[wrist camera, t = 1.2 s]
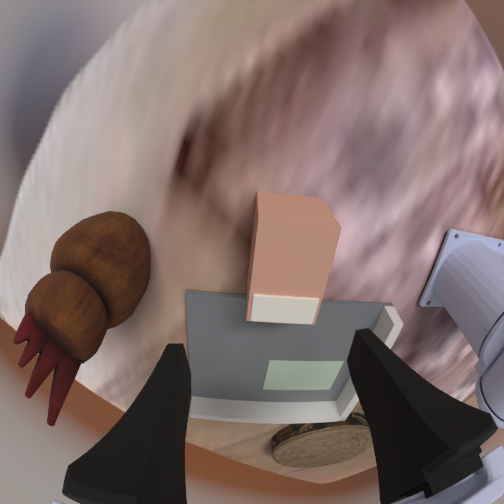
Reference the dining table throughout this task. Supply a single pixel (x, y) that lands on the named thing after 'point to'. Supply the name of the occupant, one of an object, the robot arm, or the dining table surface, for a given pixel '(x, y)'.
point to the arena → (276, 360)
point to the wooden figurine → (82, 299)
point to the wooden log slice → (321, 442)
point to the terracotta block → (289, 258)
